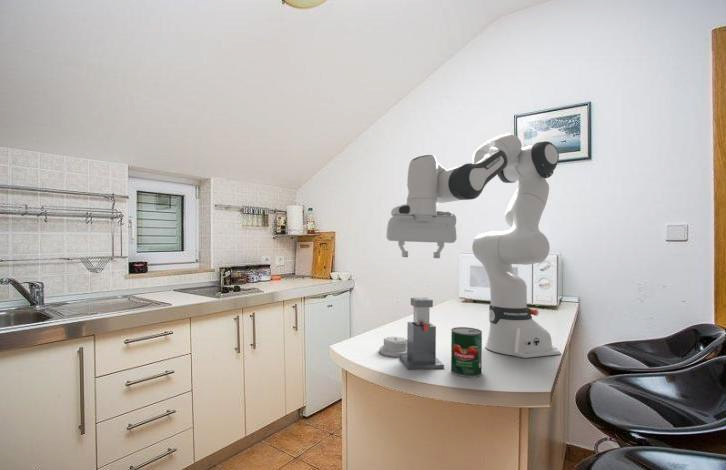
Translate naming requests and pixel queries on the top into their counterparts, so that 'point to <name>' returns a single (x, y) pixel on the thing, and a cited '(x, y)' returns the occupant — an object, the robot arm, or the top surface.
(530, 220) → the robot arm
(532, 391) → the top surface
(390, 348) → the mechanical component
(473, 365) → the canned tomato
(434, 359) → the grey hollow housing
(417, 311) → the column
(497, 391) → the top surface
